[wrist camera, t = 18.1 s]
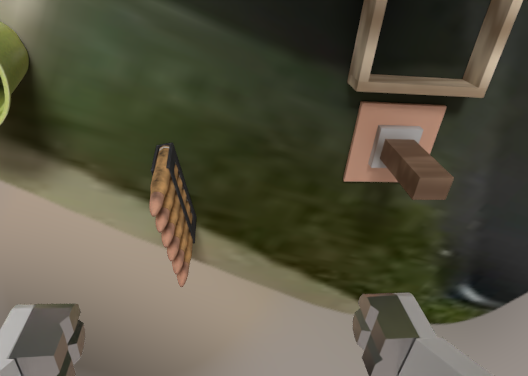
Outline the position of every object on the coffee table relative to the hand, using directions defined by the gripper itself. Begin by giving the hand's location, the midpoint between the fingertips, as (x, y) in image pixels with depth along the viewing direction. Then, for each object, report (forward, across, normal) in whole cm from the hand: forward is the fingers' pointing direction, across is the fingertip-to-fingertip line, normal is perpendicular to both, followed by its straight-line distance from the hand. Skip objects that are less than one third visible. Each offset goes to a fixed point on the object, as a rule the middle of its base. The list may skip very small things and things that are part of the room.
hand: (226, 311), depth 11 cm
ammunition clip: (+31, +4, +15) cm, 35 cm away
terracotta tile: (+31, -21, +9) cm, 39 cm away
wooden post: (+31, -21, +9) cm, 38 cm away
